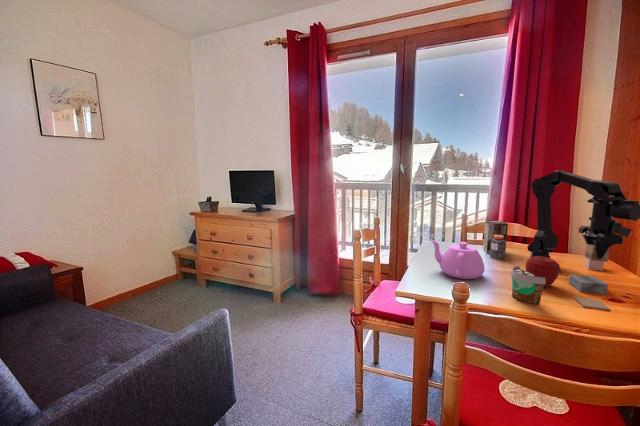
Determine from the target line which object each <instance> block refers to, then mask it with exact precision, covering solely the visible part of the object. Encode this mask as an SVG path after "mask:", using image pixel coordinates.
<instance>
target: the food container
mask: <svg viewBox="0 0 640 426" xmlns="http://www.w3.org/2000/svg"><path fill="white" fill-rule="evenodd" d="M520 267H521V266H520V265H515V266H513V267H512V268H511V271H510V273H509V275H510V276H511V296H512V298H513V300H515V299H516V300H515V301H517V302H519V301H520V302H519V303H522V304H524V305H525V304H526V305H530V306H540V304H541V299H542V295H543V290H544V287H545V286H544V284H546V280H545V278H540V277H537V276H535V275H534V274H532V273H530V272H527V271H526V270H524V269H522V268H520ZM543 286H544V287H543Z"/></svg>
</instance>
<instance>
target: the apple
mask: <svg viewBox="0 0 640 426" xmlns="http://www.w3.org/2000/svg"><path fill="white" fill-rule="evenodd" d="M525 271H527V272H530V273H532V274H534V275H535V276H537V277H540V278H545V280H546V284H544V286H543V288H544V287H547V286H550V285H552V284H554V283H555V281H556V280H557V278H559V274H560V273H561V267H560V264H559V263H558V262H557V261H556V260H555V259H554V258H551V257H550V258H547V257H544V256H543V257H542V256H534V257H531V258H530V257H529V258H527V260H526V262H525Z"/></svg>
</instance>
